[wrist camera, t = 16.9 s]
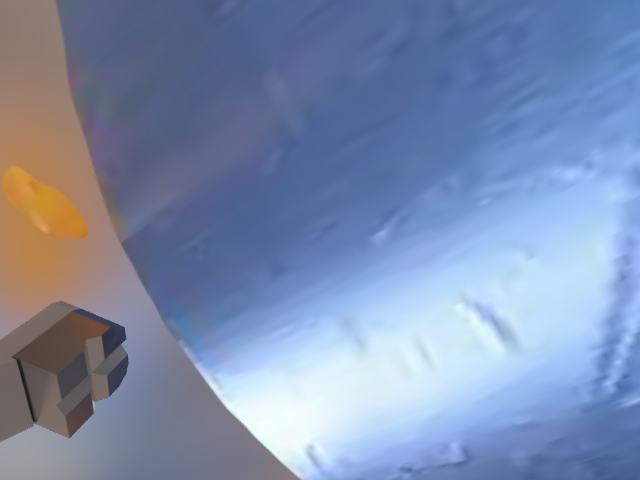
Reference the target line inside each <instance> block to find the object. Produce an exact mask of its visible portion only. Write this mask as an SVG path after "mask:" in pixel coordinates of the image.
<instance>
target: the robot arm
mask: <svg viewBox="0 0 640 480" xmlns="http://www.w3.org/2000/svg"><path fill="white" fill-rule="evenodd" d="M125 340H126V334H125V328H124V327H122V326H120V325H118V324H116V323H114V322H111V321H109V320H106V319H104V318H102V317H99V316H97V315H95V314H92V313H90V312H87V311H85V310H83V309H80V308H78V307H75V306H73V305H70V304H68V303H66V302H63V301H59V302H55V303H52V304H50V305H49V306H48V307H46V308H45V309H43V310H42V311H41V312H39V313H38V314H36V315H35V316H34V317H32V318H31V319H29V320H28V321H26V322H25V323H24V324H22V325H21V326H20V327H18V328H17V329H15V330H14V331H13V332H11V333H10V334H8V335H7V336H5V337H4V338H3V339H1V340H0V442H1V441H3V440H5V439H7V438H10V437H12V436H14V435H16V434H18V433H20V432H22V431H24V430H26V429H28V428H30V427H33V426H34V423H35V424H37V425H39V426H42V427H44V428H46V429H49V430H51V431H53V432H56V433H58V434H61V435H63V436H66V437H68V438H70V437H71V436H72V435H73V434H74V433H75V432H76V431H77V430H78V429H79V428H80V427H81V426H82V425H83V424H84V423H85V422H86V421H87V420H88V419H89V418H90V417H91V416H92V415H93V413H94V409H95V402H97V401H99V400H102V399H105V398H108V397H110V396H111V395H112V393H113V392H114V391H115V390H116V389H117V388H118V387H119V385H120V384H121V382H122V380H123V378H124V376H125V375H126V372H127V367H128V354H127V353H126V352H125V350H124V348H123V347H122V345H121V344H122V343H123V342H124V341H125Z"/></svg>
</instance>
